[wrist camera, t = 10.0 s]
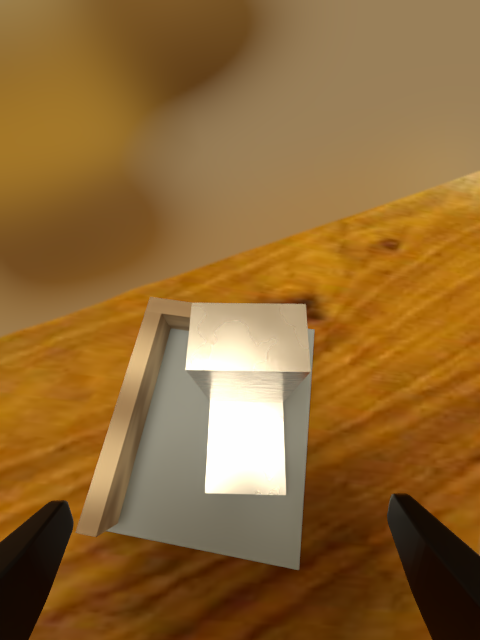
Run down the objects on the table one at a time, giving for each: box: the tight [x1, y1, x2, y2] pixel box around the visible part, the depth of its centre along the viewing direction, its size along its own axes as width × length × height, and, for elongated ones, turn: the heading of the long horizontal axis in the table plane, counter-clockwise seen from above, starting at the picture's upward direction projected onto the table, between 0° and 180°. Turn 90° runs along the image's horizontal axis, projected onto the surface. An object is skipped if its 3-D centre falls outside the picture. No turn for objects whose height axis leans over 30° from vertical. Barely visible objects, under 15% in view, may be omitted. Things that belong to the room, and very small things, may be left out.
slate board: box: [106, 328, 314, 570], centre depth 22 cm, size 16×13×1 cm
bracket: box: [185, 303, 311, 495], centre depth 16 cm, size 8×5×11 cm, turn 179°
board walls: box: [76, 297, 192, 537], centre depth 20 cm, size 15×10×4 cm, turn 171°
